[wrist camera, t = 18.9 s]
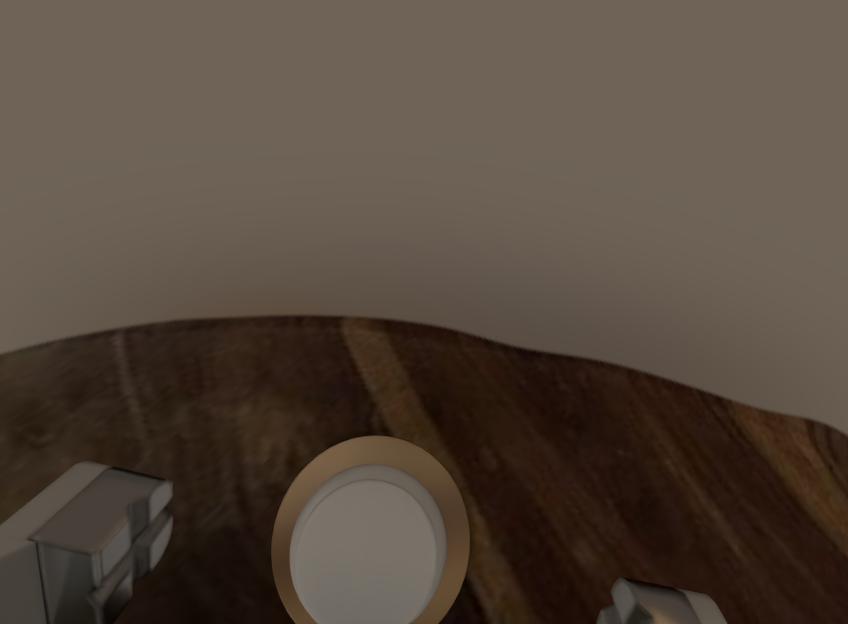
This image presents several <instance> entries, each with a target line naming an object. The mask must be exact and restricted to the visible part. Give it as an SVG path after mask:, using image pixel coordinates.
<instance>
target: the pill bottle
mask: <svg viewBox="0 0 848 624" xmlns="http://www.w3.org/2000/svg"><path fill="white" fill-rule="evenodd" d="M446 554H447V538H446V531H445V526H444V522H443V519H442V515H441V513H440V510H439V508H438V506H437V504H436V502H435V500H434V499H433V497H432V496H431V494H430V493H429V492H428V491H427V489H426V488H425V487H424V486H423V485H422V484H421V483H420V482H419V481H418V480H416V479H415V478H414V477H412V476H411V475H409V474H408V473H406V472H404V471H402V470H400V469H397V468H395V467H391V466H388V465H382V464H363V465H358V466H354V467H351V468H347V469H345V470H343V471H341V472H339V473H337V474H335V475H334V476H332V477H331V478H329V479H328V480H326V481H325V482H324V483H323V484H322V485H321V486H320V487H319V488H318V489H317V490H316V491H315V492H314V493H313V494H312V496H311V497H310V498H309V500H308V501H307V502H306V504H305V506H304V507H303V509H302V511H301V513H300V515H299V517H298V519H297V521H296V524H295V527H294V530H293V533H292V538H291V544H290V571H291V577H292V581H293V585H294V588H295V591H296V593H297V595H298V597H299V600H300V601H301V603H302V605H303V606H304V608H305V609H306V611H307V612H308V613H309V614H310V616H311V617H312V618H313V619H314V620H315V621H316V622H317V623H318V624H410V623H412V622H413V621H414V620H415V619H416V618H417V617H418V616H419V615H420V614H421V613H422V612H423V611H424V609H425V608H426V607H427V605H428V604H429V602H430V601H431V599H432V597H433V596H434V594H435V592H436V590H437V588H438V586H439V583H440V580H441V578H442V575H443V571H444V567H445V562H446Z"/></svg>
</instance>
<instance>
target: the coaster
mask: <svg viewBox="0 0 848 624" xmlns="http://www.w3.org/2000/svg"><path fill="white" fill-rule="evenodd" d="M363 464H382V465H388V466H391V467H395V468H397V469H400V470H402V471H404V472H406V473H408V474H409V475H411V476H412V477H414V478H415V479H416V480H418V481H419V482H420V483H421V484H422V485H423V486H424V487H425V488H426V489H427V491H428V492H429V493H430V494H431V496H432V497H433V499H434V500H435V502H436V504H437V506H438V508H439V510H440V513H441V515H442V519H443V522H444V526H445V531H446V538H447V554H446V562H445V567H444V571H443V575H442V578H441V580H440V583H439V586H438V588H437V590H436V592H435V594H434V596H433V597H432V599H431V601H430V602H429V604H428V605H427V607H426V608H425V609H424V611H423V612H422V613H421V614H420V615H419V616H418V617H417V618H416V619H415V620H414V621H413V622H412V623H410V624H438V623H439V622H440V621H441V620H442V619H443V618H444V616H445V615H446V614H447V612H448V611H449V609H450V608H451V606H452V605H453V603H454V601H455V599H456V597H457V595H458V593H459V591H460V589H461V586H462V583H463V581H464V578H465V574H466V570H467V566H468V561H469V553H470V529H469V520H468V516H467V511H466V507H465V504H464V501H463V499H462V496H461V493H460V491H459V489H458V487H457V485H456V483H455V482H454V480H453V479H452V477H451V476H450V474H449V473H448V471H447V470H446V469H445V468H444V467H443V466H442V465H441V463H440V462H439V461H437V460H436V459H435V458H434V457H433V456H432V455H431V454H429V453H428V452H426V451H425V450H423V449H422V448H420V447H418V446H416V445H414V444H412V443H410V442H408V441H405V440H402V439H399V438H394V437H389V436H376V435H375V436H363V437H358V438H353V439H350V440H347V441H344V442H341V443H339V444H337V445H335V446H333V447H331V448H329V449H327V450H326V451H324V452H323V453H321V454H319V455H318V456H317V457H316V458H314V459H313V460H312V461H311V462H310V463H309V464H308V465H307V466H306V467H305V468H304V469H303V470H302V471H301V472H300V473H299V474H298V476H297V477H296V479H295V480H294V481H293V483H292V484H291V485H290V487H289V489H288V491H287V493H286V494H285V496H284V498H283V500H282V503H281V505H280V508H279V510H278V513H277V517H276V520H275V524H274V529H273V535H272V546H271V559H272V570H273V575H274V580H275V584H276V587H277V590H278V593H279V596H280V598H281V600H282V602H283V604H284V606H285V608H286V610H287V612H288V613H289V615H290V616H291V618H292V619H293V621H294V622H295V623H296V624H318V623H317V622H316V621H315V620H314V619H313V618H312V617H311V616H310V614H309V613H308V612H307V611H306V609H305V608H304V606H303V605H302V603H301V601H300V600H299V597H298V595H297V593H296V591H295V588H294V585H293V581H292V577H291V571H290V544H291V538H292V533H293V530H294V527H295V524H296V521H297V519H298V517H299V515H300V513H301V511H302V509H303V507H304V506H305V504H306V502H307V501H308V500H309V498H310V497H311V496H312V494H313V493H314V492H315V491H316V490H317V489H318V488H319V487H320V486H321V485H322V484H323V483H324V482H325V481H326V480H328V479H329V478H331V477H332V476H334V475H335V474H337V473H339V472H341V471H343V470H345V469H347V468H351V467H354V466H358V465H363Z"/></svg>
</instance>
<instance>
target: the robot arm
mask: <svg viewBox="0 0 848 624" xmlns="http://www.w3.org/2000/svg"><path fill="white" fill-rule="evenodd" d="M172 497H173V488H172V482H171V481H169V480H167V479H163V478H159V477H155V476H151V475H147V474H142V473H138V472H134V471H130V470H126V469H122V468H118V467H112V466H108V465H103V464H99V463H95V462H91V461H87V460H86V461H83V462H81V463H78V464H75V465H74V466H73V467H71V468H70V469H69V470H68V471H66V472H65V473H64V474H63V475H61V476H60V477H59V478H58V479H57V480H55V481H54V482H53V483H52V484H50V485H49V486H48V487H47V488H45V489H44V490H43V491H42V492H41V493H39V494H38V495H37V496H36V497H34V498H33V499H32V500H31V501H29V502H28V503H27V504H26V505H25V506H23V507H22V508H21V509H20V510H18V511H17V512H16V513H15V514H13V515H12V516H11V517H10V518H9V519H7V520H6V521H5V522H4V523H2V524H1V525H0V624H113V623H114V622H115V621H116V619H117V618H118V616H119V615H120V614H121V612H122V611H123V610H124V608H125V607H126V606H127V604H128V603H129V602H130V600H131V599H132V583H134V582H135V581H137V580H139V579H141V578H142V577H144V576H146V575H148V574H149V573H151V571H152V570H153V569H154V567H155V566H156V564H157V563H158V561H159V560H160V559H161V557H162V555H163V553H164V551H165V548H166V546H167V544H168V542H169V540H170V536H171V531H172V527H173V516H172V514H171V513H170V511H169V510H168V509H167V507H166V505H167V503H168V502H169V501H170V500H171V499H172ZM610 592H611V595H612V598H613V601H614V602H613V603H611V604H609V605H608V606H606V607H604V608H602V609H601V612H600V614H599V616H598V619H597V621H596V624H727V622H726V620H725V619H724V617H723V615H722V613H721V612H720V610H719V608H718V606H717V605H716V603H715V602H714V601H713V600H712V599H711V598H710V597H709V596H708V595H706V594H701V593H696V592H692V591H687V590H682V589H675V588H673V587H668V586H663V585H658V584H653V583H648V582H644V581H639V580H634V579H629V578H624V577H621V578H620V579H618V580H617V581H615V583H614V585H613V587H612V589H611V591H610Z"/></svg>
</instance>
